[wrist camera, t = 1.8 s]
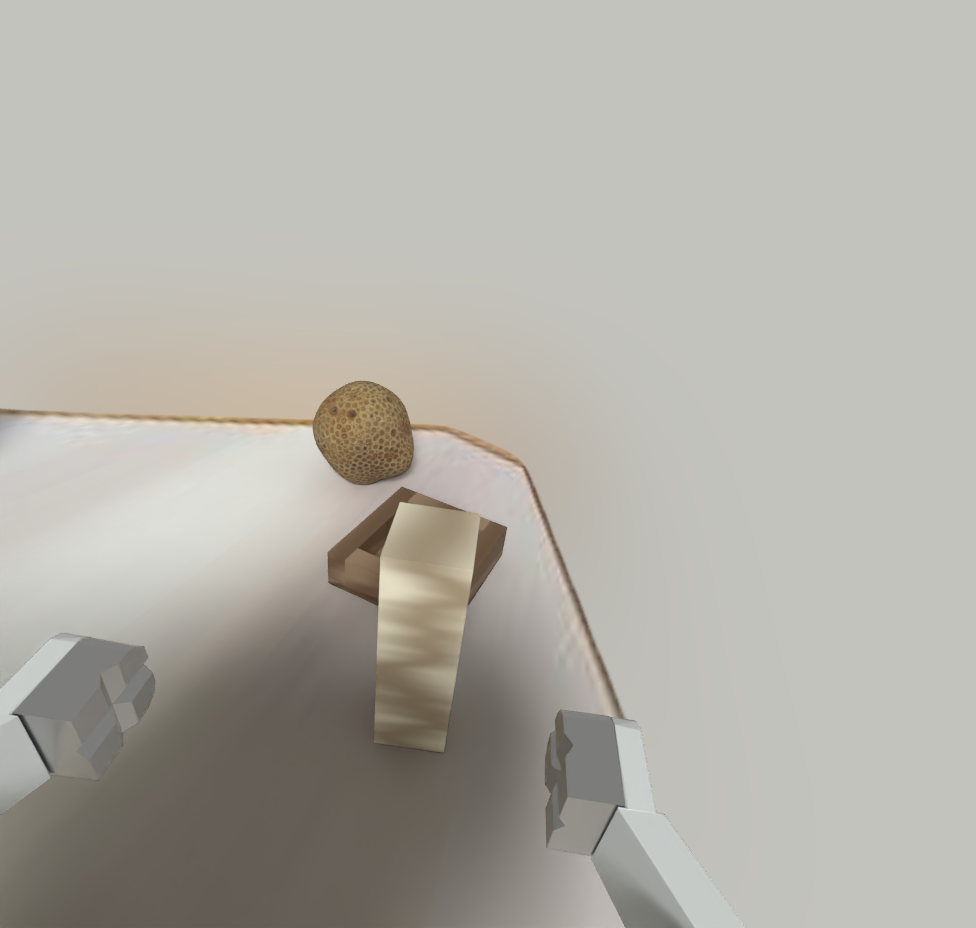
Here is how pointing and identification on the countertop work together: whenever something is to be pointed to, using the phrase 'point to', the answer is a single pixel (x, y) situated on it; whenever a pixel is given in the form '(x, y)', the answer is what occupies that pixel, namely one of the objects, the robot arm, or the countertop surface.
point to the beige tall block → (421, 623)
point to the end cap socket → (362, 547)
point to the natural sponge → (364, 433)
